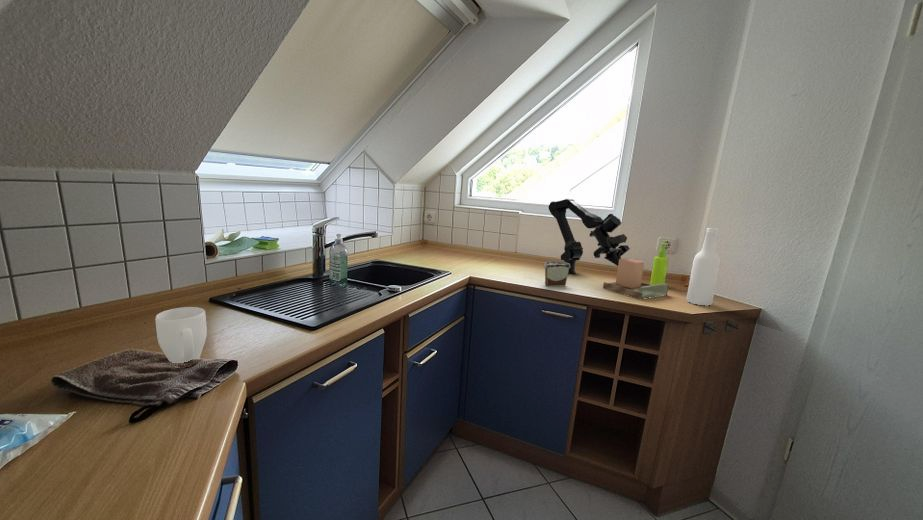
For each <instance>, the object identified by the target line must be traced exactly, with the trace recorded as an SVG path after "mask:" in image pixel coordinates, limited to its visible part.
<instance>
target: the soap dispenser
mask: <svg viewBox="0 0 923 520" xmlns="http://www.w3.org/2000/svg"><path fill="white" fill-rule="evenodd" d="M667 245H669V243H668V242H661V243H660V249H658V251H657V256H654V258H653V263H652V269H651V276H650V282H649V284H651V285H656V284H663V283H665V282H666V276H667V269H668V264H669V258H668V257H667V250H666V246H667Z"/></svg>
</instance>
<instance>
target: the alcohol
mask: <svg viewBox="0 0 923 520" xmlns="http://www.w3.org/2000/svg"><path fill="white" fill-rule="evenodd" d="M719 230H720V229H719V228H714V227H707V228H706V231H705V237H704V240H703V243H702V248H700V251H699V252H698V253H696V254H695V256H694V258H693V262H692V265H691V272H690V277H689V282H688V287H687V288H688V289H687V293H686V301H687V303H689V302H690V303H689V304H691V303H694V304H700V305H710V306H712V304H713V302H714V298H715V297H714V296H715V292H716V288H717V287H716V286H717V281H718V276H719V270H720V265H721V258H720V256H719V254H718V253H717V244H718V236H719ZM694 304H693V305H694Z"/></svg>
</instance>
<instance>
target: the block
mask: <svg viewBox="0 0 923 520" xmlns="http://www.w3.org/2000/svg"><path fill="white" fill-rule="evenodd" d="M644 265H645V261H641V260H638V259H632V258H628V257H627V258H621V259H619V264H618V266H617V272H616V277H615V279H616V280H615V282H616V284H620V285H623V286H627V287H630V288H635V287H640V286H641V282H642V280H643V273H644V272H643V271H644Z"/></svg>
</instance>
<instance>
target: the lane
mask: <svg viewBox="0 0 923 520" xmlns="http://www.w3.org/2000/svg"><path fill="white" fill-rule="evenodd" d="M602 289H605V290H607V289H608V290H607V291H611V292H614V291H615V293H617V292H618V294H620V293H621V295H623V294H625V295H624V296H627V295H628V296H627V297H630V296H632V297H631V298H633V297H635V298H634V299H636V298H638V299H637V300H639V299H642V300H645V299H644V298H648V299H650V298H649V297H653V298H656V297H655V296H659V297H663V296H662V295H665V296H668V291H669V289H668V283H665V282H664V283H663V284H656V285H651V284H650V283H648V282H647V283H646V282H642V281H641V286H640V287H635V288H630V287H627V286H623V285H620V284H616V281H614V282H605V281H604V282H603V285H602Z"/></svg>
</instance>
